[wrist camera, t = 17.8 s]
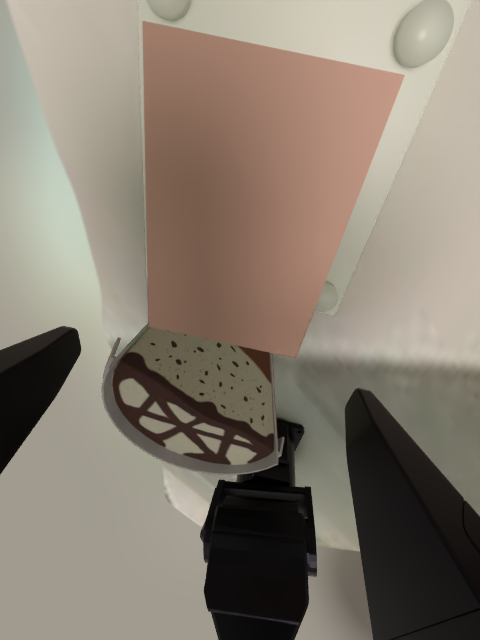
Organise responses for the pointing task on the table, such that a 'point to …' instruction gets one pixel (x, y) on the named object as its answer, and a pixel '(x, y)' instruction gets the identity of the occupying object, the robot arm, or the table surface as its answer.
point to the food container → (194, 402)
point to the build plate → (345, 46)
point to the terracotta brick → (250, 181)
